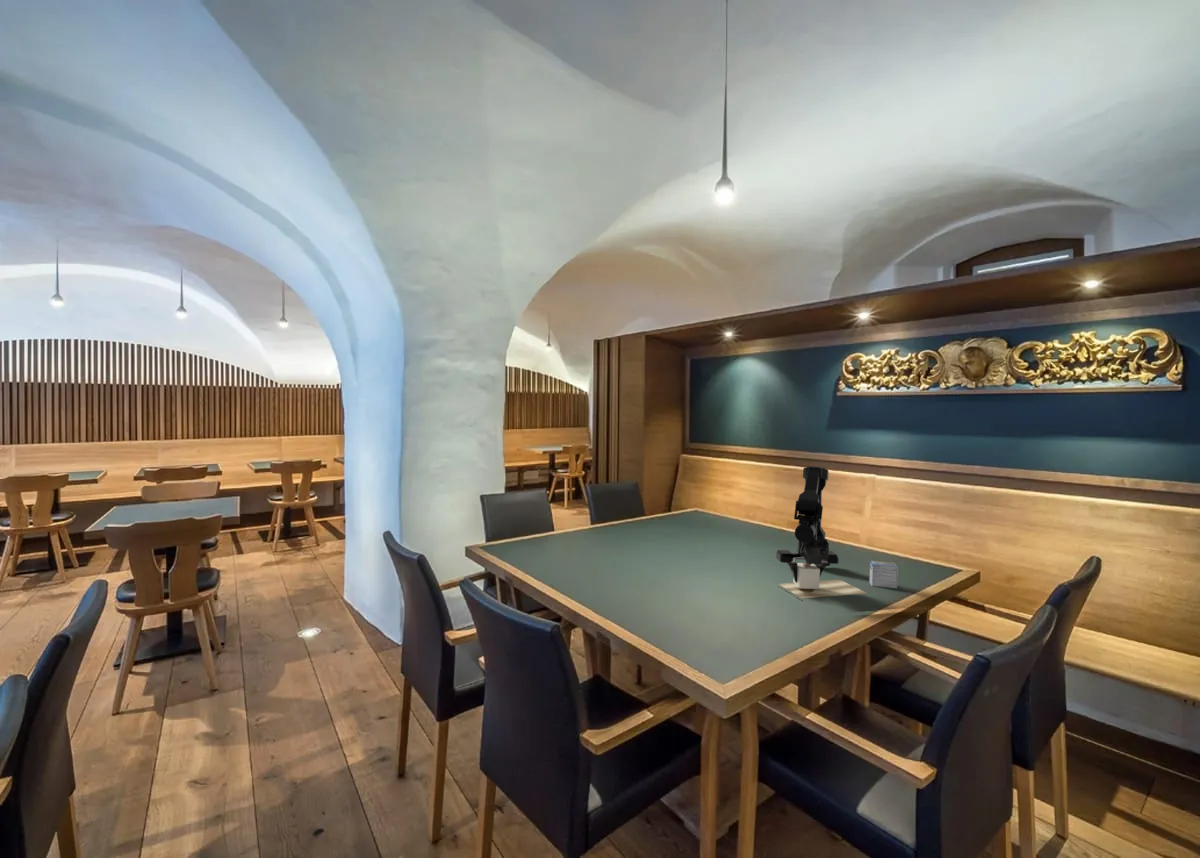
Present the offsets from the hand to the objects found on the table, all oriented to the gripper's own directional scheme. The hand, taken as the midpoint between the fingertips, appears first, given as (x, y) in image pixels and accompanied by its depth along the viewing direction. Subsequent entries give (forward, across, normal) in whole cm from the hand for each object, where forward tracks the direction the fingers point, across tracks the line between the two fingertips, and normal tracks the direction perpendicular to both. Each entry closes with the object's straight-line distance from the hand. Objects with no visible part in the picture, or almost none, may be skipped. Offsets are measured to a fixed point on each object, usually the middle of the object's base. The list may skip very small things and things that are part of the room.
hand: (806, 582), depth 181 cm
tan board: (+4, +6, +2) cm, 7 cm away
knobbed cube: (+1, 0, 0) cm, 1 cm away
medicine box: (+4, +28, +7) cm, 29 cm away
